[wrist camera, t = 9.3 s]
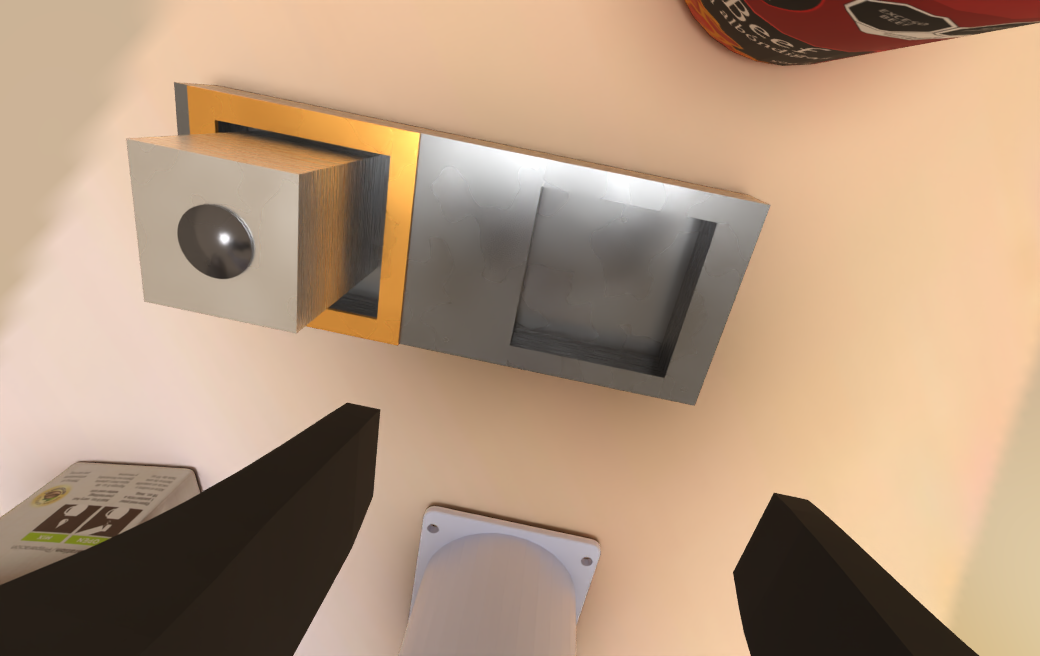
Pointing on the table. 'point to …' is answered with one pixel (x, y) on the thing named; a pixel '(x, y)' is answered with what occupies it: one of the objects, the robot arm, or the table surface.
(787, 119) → the table surface
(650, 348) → the rail
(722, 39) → the canned food
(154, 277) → the silver square slider
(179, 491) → the coffee box
